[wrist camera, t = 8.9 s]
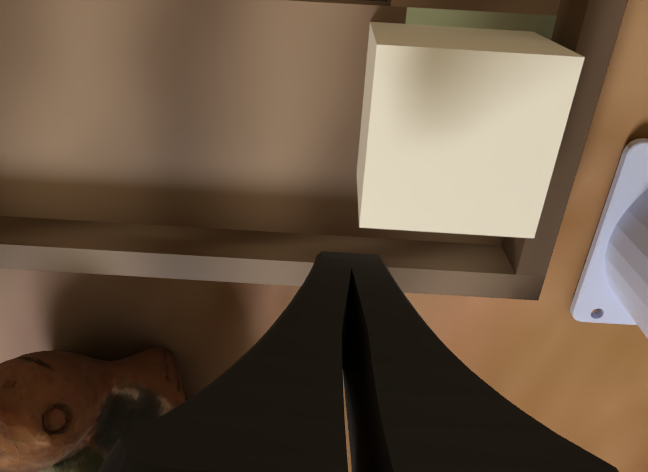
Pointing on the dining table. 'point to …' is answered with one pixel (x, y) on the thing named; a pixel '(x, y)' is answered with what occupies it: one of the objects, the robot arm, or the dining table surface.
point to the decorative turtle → (79, 406)
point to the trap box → (242, 139)
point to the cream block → (461, 128)
